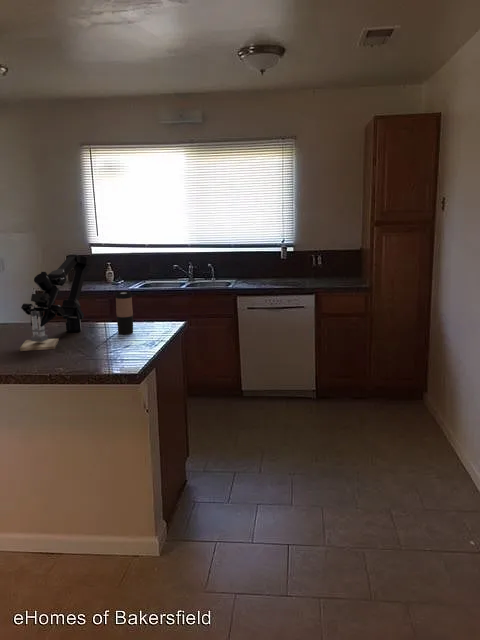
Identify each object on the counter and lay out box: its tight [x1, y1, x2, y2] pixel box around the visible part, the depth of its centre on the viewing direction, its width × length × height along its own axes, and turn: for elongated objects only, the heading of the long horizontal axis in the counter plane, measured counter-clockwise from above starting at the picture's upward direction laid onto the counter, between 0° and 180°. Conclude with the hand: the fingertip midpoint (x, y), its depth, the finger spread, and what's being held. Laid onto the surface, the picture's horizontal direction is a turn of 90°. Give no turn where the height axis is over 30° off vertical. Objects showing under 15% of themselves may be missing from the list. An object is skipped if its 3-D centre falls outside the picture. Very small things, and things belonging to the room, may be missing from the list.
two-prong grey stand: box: [30, 311, 49, 342], centre depth 232 cm, size 5×5×13 cm
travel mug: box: [115, 290, 134, 336], centre depth 254 cm, size 8×8×20 cm
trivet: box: [19, 338, 59, 352], centre depth 234 cm, size 14×14×1 cm
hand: (36, 326), depth 230 cm, fingers closed on two-prong grey stand, 4 cm apart
